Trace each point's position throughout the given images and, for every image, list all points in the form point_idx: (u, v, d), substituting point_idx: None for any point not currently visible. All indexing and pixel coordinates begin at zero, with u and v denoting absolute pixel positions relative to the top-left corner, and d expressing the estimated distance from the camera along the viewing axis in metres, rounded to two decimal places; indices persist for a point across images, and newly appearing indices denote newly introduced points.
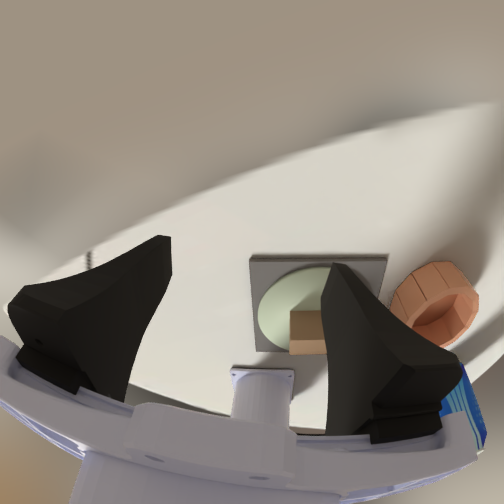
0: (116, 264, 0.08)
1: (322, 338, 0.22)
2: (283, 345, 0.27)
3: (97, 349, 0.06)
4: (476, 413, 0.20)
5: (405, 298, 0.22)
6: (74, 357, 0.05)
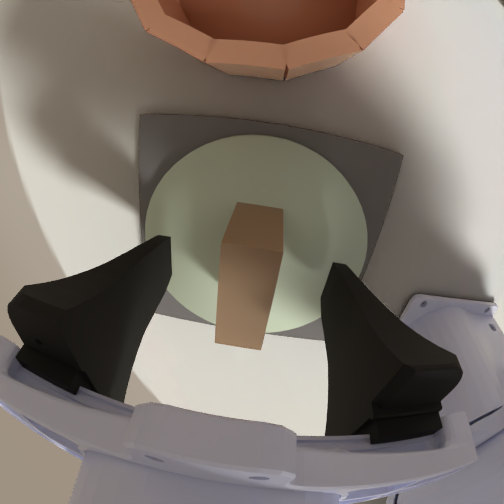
0: (116, 264, 0.08)
1: (218, 294, 0.10)
2: (318, 310, 0.15)
3: (97, 349, 0.06)
4: None
5: None
6: (74, 357, 0.05)
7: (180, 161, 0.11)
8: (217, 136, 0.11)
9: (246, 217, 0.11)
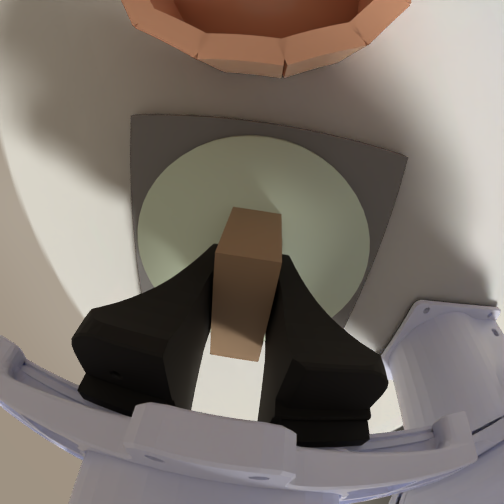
0: (186, 277, 0.08)
1: None
2: None
3: (181, 374, 0.06)
4: None
5: None
6: (169, 388, 0.05)
7: (173, 164, 0.10)
8: (211, 138, 0.10)
9: (242, 224, 0.10)
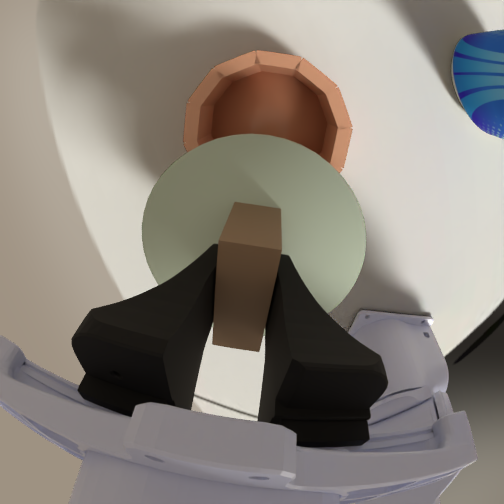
0: (186, 277, 0.08)
1: None
2: None
3: (181, 374, 0.06)
4: None
5: None
6: (169, 388, 0.05)
7: (177, 161, 0.11)
8: None
9: (244, 216, 0.10)
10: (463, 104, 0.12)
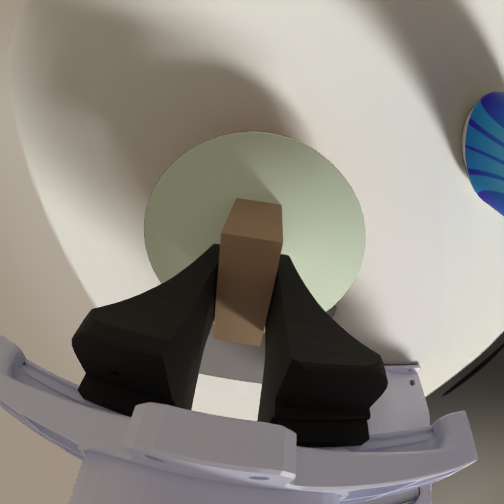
0: (186, 277, 0.08)
1: (217, 287, 0.10)
2: None
3: (182, 374, 0.06)
4: None
5: None
6: (169, 388, 0.05)
7: (180, 157, 0.11)
8: None
9: (245, 211, 0.11)
10: (471, 180, 0.13)
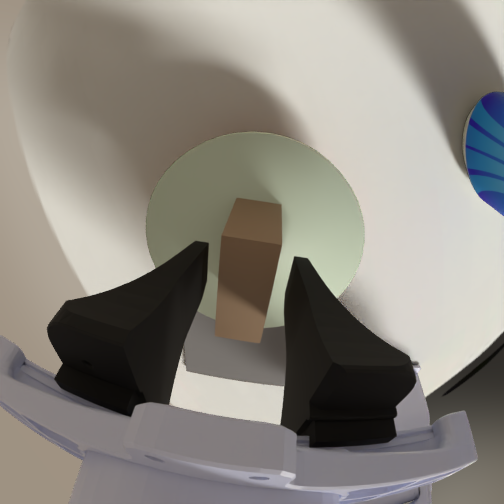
0: (162, 273, 0.08)
1: (218, 287, 0.10)
2: None
3: (152, 366, 0.06)
4: None
5: None
6: (134, 379, 0.05)
7: (181, 158, 0.11)
8: None
9: (245, 212, 0.11)
10: (471, 180, 0.13)
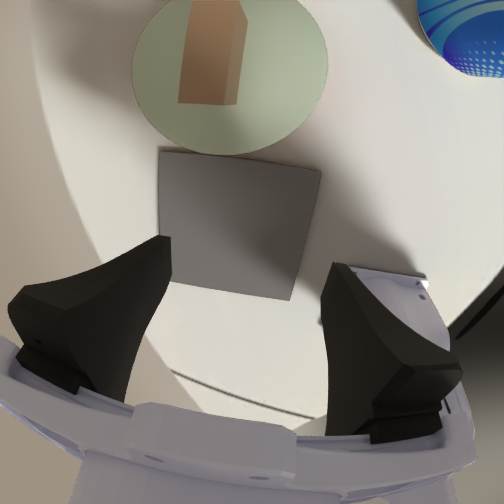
0: (116, 264, 0.08)
1: (185, 46, 0.09)
2: (291, 120, 0.13)
3: (97, 349, 0.06)
4: None
5: None
6: (74, 357, 0.05)
7: (170, 1, 0.10)
8: (206, 166, 0.19)
9: None
10: (432, 43, 0.11)
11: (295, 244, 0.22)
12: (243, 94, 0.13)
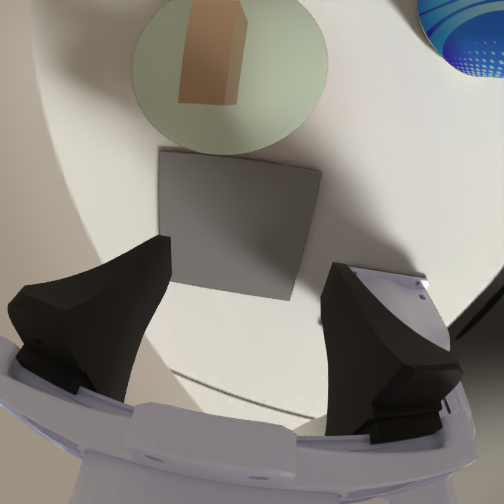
0: (116, 264, 0.08)
1: (186, 45, 0.09)
2: (291, 120, 0.13)
3: (97, 349, 0.06)
4: None
5: None
6: (74, 357, 0.05)
7: (170, 1, 0.10)
8: (206, 166, 0.19)
9: None
10: (432, 43, 0.11)
11: (295, 244, 0.22)
12: (243, 94, 0.13)
